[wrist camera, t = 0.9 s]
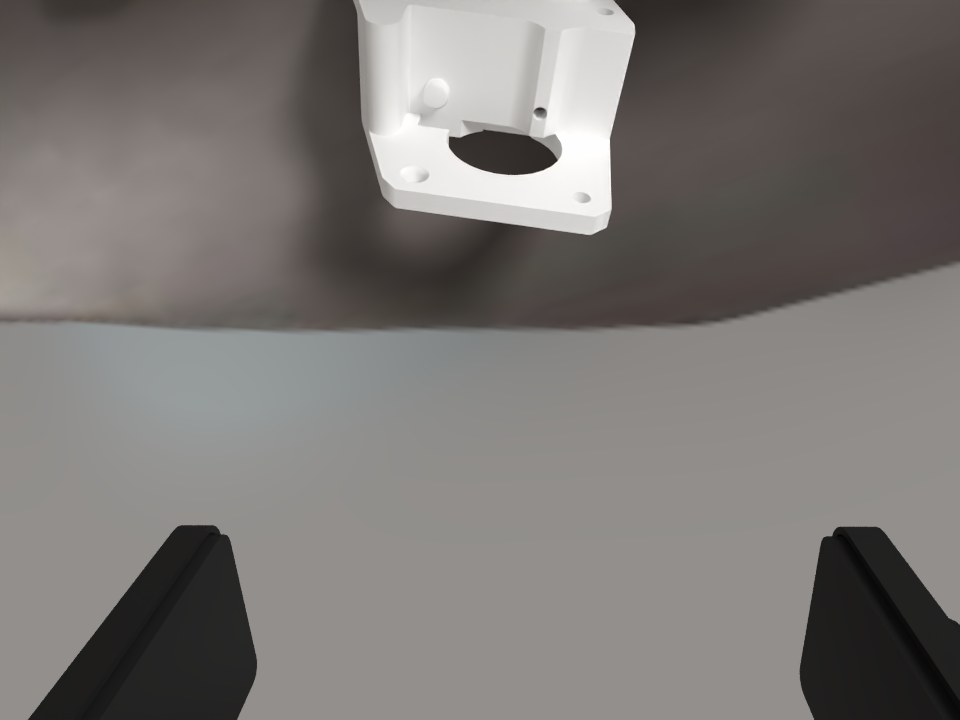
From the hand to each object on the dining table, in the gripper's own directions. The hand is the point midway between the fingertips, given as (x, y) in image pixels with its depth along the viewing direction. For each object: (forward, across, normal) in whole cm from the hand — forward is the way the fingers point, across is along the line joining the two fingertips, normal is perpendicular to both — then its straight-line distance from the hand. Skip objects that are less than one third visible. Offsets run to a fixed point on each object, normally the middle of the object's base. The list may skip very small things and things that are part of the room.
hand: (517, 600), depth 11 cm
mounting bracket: (+26, +2, -8) cm, 27 cm away
